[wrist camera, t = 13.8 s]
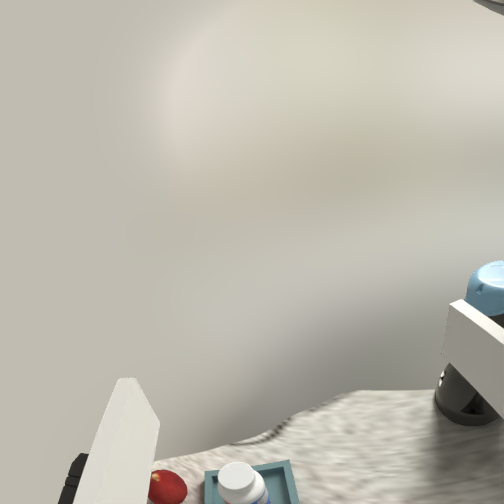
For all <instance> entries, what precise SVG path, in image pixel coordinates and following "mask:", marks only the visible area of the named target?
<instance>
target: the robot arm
mask: <svg viewBox="0 0 504 504" xmlns="http://www.w3.org/2000/svg"><path fill="white" fill-rule="evenodd" d="M473 1H474V2H476V3H478V4H481V5H483V6H484V7H486V8H488V9H490V10H492V11H494V12H497V13H499V14H501V15H504V0H473ZM441 354H442V355H443V356H444V357H445V358H446V359H447V360H448V361H449V364H448V365H447V366H446V368H445V369H444V371H443V372H442V374H441V376H440V378H439V381H438V384H437V388H436V393H435V397H436V402H437V405H438V407H439V409H440V410H441V411H442V413H443V414H444V415H445V416H446V417H448V418H449V419H451V420H452V421H454V422H456V423H459V424H462V425H468V426H478V425H483V424H486V423H489V422H491V421H493V420H495V419H496V418H497V417H498V416H501V417H502V418H503V419H504V260H503V261H496V262H491V263H488V264H486V265H484V266H482V267H480V268H478V269H477V270H476V271H475V272H474V273H473V274H472V275H471V277H470V279H469V282H468V288H467V293H466V297H465V299H464V301H463V300H462V299H461V300H458V301H456V302H453V303H451V304H450V305H449V312H448V319H447V326H446V331H445V337H444V342H443V347H442V352H441ZM159 427H160V422H159V420H158V418H157V417H156V415H155V413H154V411H153V410H152V408H151V407H150V404H149V402H148V401H147V399H146V397H145V395H144V393H143V391H142V389H141V387H140V386H139V384H138V382H137V380H136V378H121V379H118V381H117V384H116V386H115V389H114V391H113V393H112V396H111V398H110V401H109V403H108V406H107V408H106V411H105V413H104V416H103V418H102V421H101V423H100V426H99V429H98V431H97V434H96V437H95V439H94V442H93V445H92V447H91V451H90V453H89V454H84V453H81V454H79V456H78V457H77V458H76V459H75V461H73V463H72V465H71V467H70V470H69V473H68V477H67V478H66V481H65V486H64V487H63V490H62V493H61V496H60V499H59V502H58V504H147V498H148V491H149V485H150V478H151V472H152V466H153V460H154V455H155V449H156V443H157V438H158V432H159Z"/></svg>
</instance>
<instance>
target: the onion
mask: <svg viewBox="0 0 504 504" xmlns="http://www.w3.org/2000/svg"><path fill="white" fill-rule="evenodd" d="M186 496H187V486H186V484H185V482H184V481H183V479H182V478H181V477H179V476H178V475H177V474H176V473H174V472H171V471H168V470H156V471H154V472H151V478H150V485H149V491H148V498H149V499H150V500H151V501H152V502H153V503H155V504H180V503H182V502H183V501H184V499H185V498H186Z"/></svg>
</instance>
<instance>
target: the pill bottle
mask: <svg viewBox="0 0 504 504" xmlns="http://www.w3.org/2000/svg"><path fill="white" fill-rule="evenodd" d="M218 481H219V482H218V492H219V494H220V496H221V497H222V499H223V500H224V502H225V503H226V504H271V500H270V497H269V494H268V491H267V488H266V485H265V483H264V480H263V478H262V476H261V475H260V474H259V473H258V472H256V471H255V470H253V469H252V467H251V466H250V465H248V464H246V463H243V462H231V463H228V464H226V465H225V466H223V467H222V468H221V469H220V471H219V473H218Z"/></svg>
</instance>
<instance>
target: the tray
mask: <svg viewBox="0 0 504 504" xmlns="http://www.w3.org/2000/svg"><path fill="white" fill-rule="evenodd" d="M251 467H252V469H253V470H255V471H256V472H258V473H259V474H260V475H261V476H262V478H263V480H264V483H265V485H266V488H267V491H268V494H269V497H270V500H271V504H300V503H299V499H298V495H297V490H296V486H295V482H294V478H293V474H292V469H291V465H290V461H289V460H285V461H280V462H274V463H269V464H263V465H257V466H251ZM219 471H220V470H214V471H205V498H204V504H226V503H225V502H224V500H223V499H222V497H221V496H220V494H219V492H218V482H219V481H218V473H219Z"/></svg>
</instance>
